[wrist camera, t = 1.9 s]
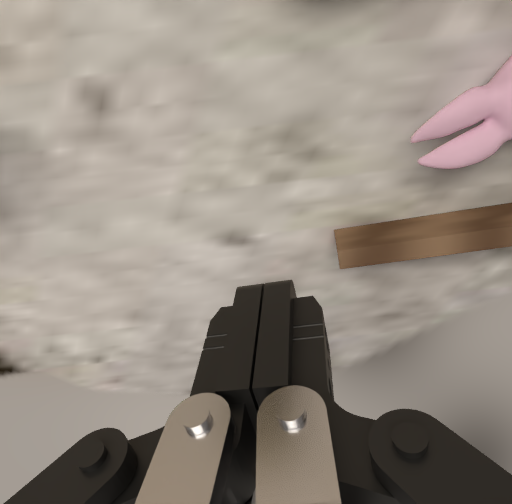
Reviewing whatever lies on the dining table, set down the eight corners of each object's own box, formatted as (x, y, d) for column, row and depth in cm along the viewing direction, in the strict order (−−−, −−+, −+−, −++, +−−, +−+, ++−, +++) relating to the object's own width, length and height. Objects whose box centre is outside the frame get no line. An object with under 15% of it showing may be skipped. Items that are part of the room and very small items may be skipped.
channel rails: (775, -205, 18) (875, -247, 15) (656, 204, 27) (700, 230, 24) (291, -62, 22) (289, -72, 19) (337, 249, 31) (341, 276, 28)
